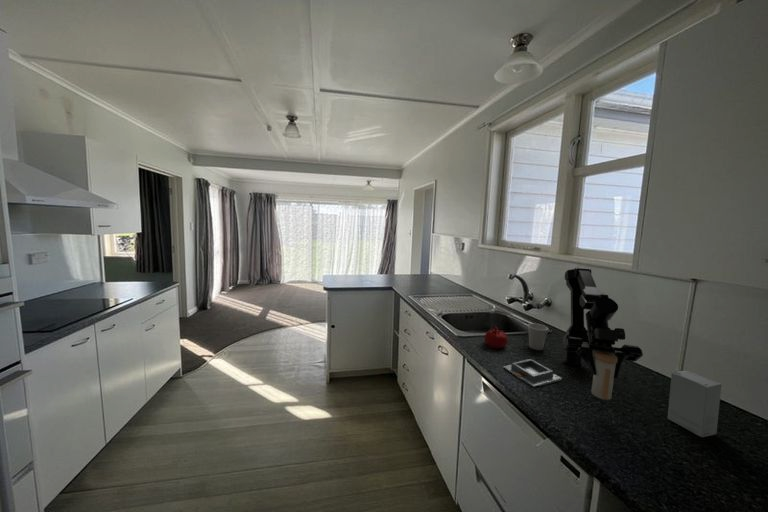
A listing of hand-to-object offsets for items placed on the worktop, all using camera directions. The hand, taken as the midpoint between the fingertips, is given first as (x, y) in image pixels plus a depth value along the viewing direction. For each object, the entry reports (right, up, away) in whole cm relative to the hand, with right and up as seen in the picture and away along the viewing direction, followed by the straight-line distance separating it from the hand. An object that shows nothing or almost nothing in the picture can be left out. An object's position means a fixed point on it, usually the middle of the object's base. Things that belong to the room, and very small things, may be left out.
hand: (605, 376), depth 84 cm
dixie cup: (+5, -7, +47) cm, 48 cm away
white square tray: (-9, -9, +24) cm, 27 cm away
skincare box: (+22, -14, -2) cm, 26 cm away
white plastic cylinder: (0, -6, +2) cm, 7 cm away
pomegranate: (-13, -6, +48) cm, 51 cm away
